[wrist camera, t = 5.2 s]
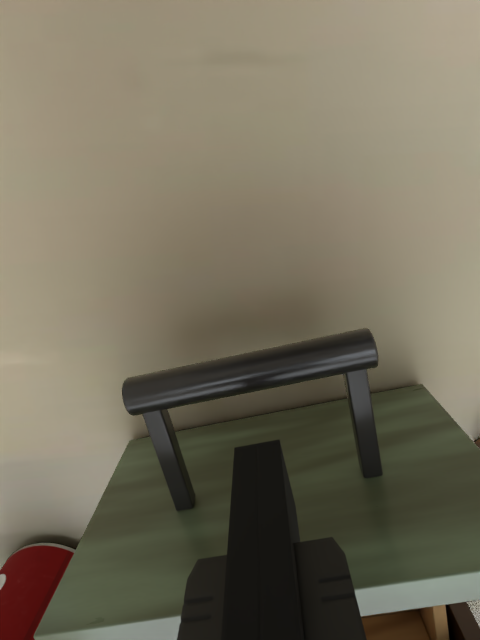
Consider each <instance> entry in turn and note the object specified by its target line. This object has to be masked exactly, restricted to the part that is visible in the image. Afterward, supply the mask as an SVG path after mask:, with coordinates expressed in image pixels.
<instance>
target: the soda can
mask: <svg viewBox="0 0 480 640" xmlns="http://www.w3.org/2000/svg"><path fill="white" fill-rule="evenodd" d="M74 552H75V549H73V548H70V547H67V546H64V545H61V544H56V543H35V544H31V545H27V546H25V547H22V548H20V549H18V550H17V551H16V552H14V553H13V554H12V555H11V556H10V557H9V558H8V560H7V561H6V563H5V564H4V566H3V567H2V569H1V570H0V640H35V639H34V634H35V632H36V630H37V628H38V626H39V624H40V622H41V619H42V617H43V615H44V613H45V611H46V609H47V607H48V605H49V603H50V601H51V599H52V597H53V595H54V593H55V591H56V589H57V587H58V585H59V583H60V581H61V579H62V577H63V575H64V573H65V571H66V569H67V567H68V565H69V563H70V561H71V559H72V557H73V555H74Z"/></svg>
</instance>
